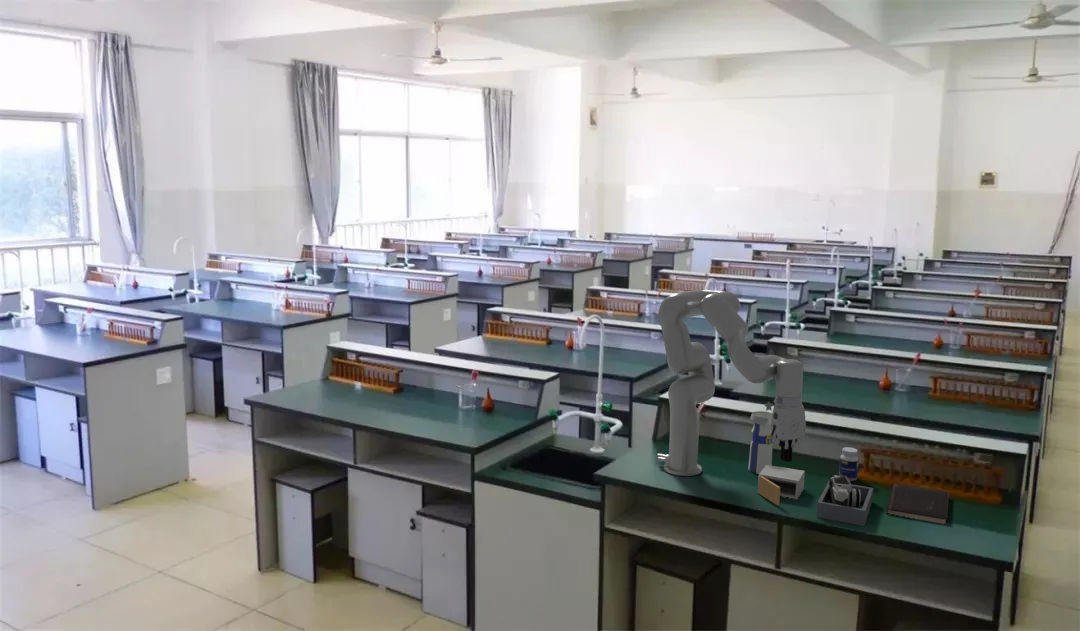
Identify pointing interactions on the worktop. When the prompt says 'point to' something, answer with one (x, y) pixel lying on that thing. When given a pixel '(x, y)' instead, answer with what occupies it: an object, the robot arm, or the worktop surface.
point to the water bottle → (761, 440)
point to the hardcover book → (919, 503)
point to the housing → (785, 480)
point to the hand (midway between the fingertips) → (786, 460)
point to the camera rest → (845, 507)
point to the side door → (768, 490)
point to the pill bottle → (849, 463)
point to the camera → (843, 492)
